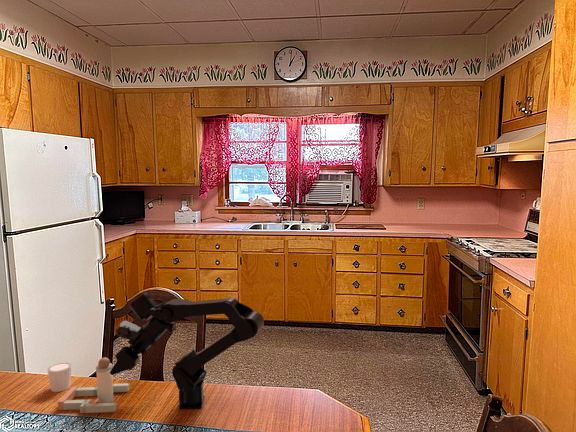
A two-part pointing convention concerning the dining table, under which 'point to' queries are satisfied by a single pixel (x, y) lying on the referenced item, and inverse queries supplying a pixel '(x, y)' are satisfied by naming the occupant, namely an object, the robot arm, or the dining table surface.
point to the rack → (86, 405)
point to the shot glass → (59, 376)
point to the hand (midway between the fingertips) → (116, 366)
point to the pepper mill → (104, 381)
